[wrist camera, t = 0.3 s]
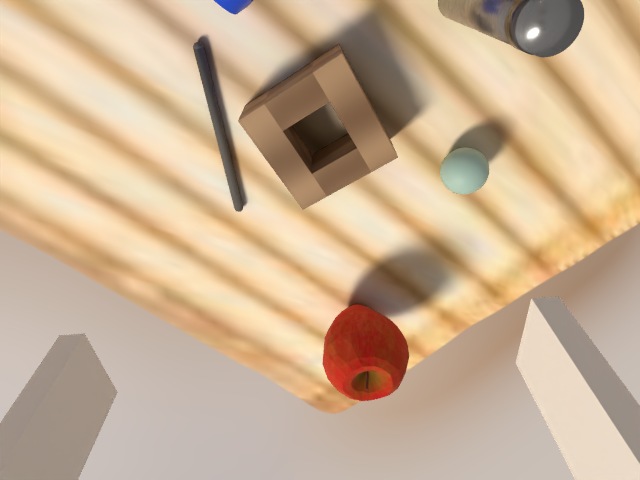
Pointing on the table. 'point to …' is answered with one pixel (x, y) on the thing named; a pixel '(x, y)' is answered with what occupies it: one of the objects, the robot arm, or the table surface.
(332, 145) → the square wooden ring
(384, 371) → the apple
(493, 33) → the grey metal cylinder rod
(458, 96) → the table surface
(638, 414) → the robot arm
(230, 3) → the bracket
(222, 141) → the thin dark grey rod
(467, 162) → the loose teal bead
